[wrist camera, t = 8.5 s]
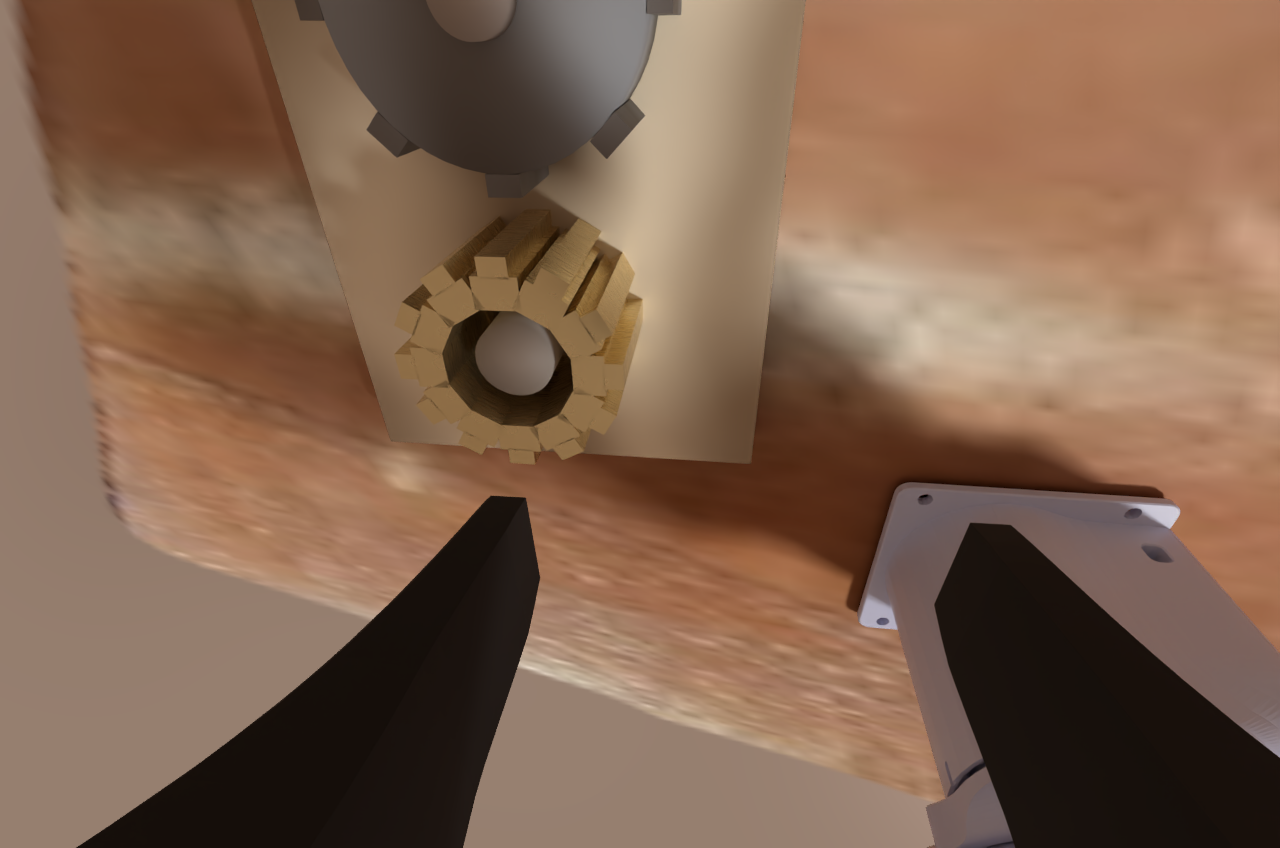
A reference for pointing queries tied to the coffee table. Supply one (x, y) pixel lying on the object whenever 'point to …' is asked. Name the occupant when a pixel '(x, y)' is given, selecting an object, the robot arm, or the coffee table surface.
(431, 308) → the brass gear
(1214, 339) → the coffee table surface
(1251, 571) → the coffee table surface
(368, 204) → the gear board
